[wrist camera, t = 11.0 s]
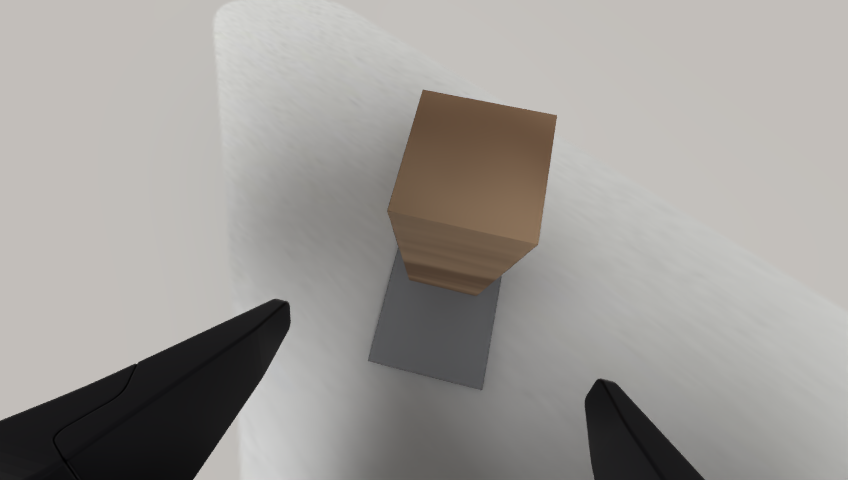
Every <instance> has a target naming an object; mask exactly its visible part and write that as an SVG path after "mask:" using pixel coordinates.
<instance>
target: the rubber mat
mask: <svg viewBox="0 0 848 480" xmlns="http://www.w3.org/2000/svg"><path fill="white" fill-rule="evenodd" d="M501 276H502V275H501ZM501 276H500V277H499V278H497V279H496V280H495V281H494V282H493V283H491V284H490V285H489V286H488V287H487V288H485V289H484V290H483V291H482V292H481V293H479V294H478V295H477V296H474V295H469V294H465V293H461V292H457V291H453V290H449V289H444V288H440V287H436V286H432V285H428V284H424V283H419V282H415V281H411V280H409V277H408V274H407V271H406V268H405V265H404V262H403V259H402V255H401V252H400V249H399V247H398V251H397V255H396V258H395V262H394V266H393V269H392V273H391V277H390V281H389V284H388V288H387V292H386V295H385V299H384V303H383V307H382V310H381V314H380V318H379V322H378V325H377V329H376V333H375V336H374V340H373V344H372V348H371V351H370V355H369V359H368V361H370V362H374V363H378V364H382V365H386V366H390V367H394V368H398V369H402V370H405V371H409V372H413V373H417V374H421V375H425V376H429V377H433V378H437V379H441V380H444V381H448V382H452V383H456V384H460V385H464V386H468V387H472V388H476V389H480V390H482V388H483V382H484V376H485V370H486V365H487V359H488V353H489V347H490V341H491V335H492V329H493V323H494V317H495V312H496V306H497V300H498V294H499V288H500V282H501Z"/></svg>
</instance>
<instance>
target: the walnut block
mask: <svg viewBox="0 0 848 480" xmlns="http://www.w3.org/2000/svg"><path fill="white" fill-rule="evenodd" d="M556 119H557V115H552V114H547V113H541V112H536V111H531V110H526V109H521V108H516V107H510V106H505V105H500V104H495V103H490V102H484V101H479V100H474V99H469V98H463V97H458V96H453V95H448V94H443V93H437V92H432V91H427V90H423V91H422V94H421V98H420V101H419V105H418V108H417V111H416V115H415V118H414V122H413V125H412V128H411V132H410V135H409V139H408V142H407V145H406V149H405V152H404V156H403V159H402V162H401V166H400V169H399V173H398V176H397V179H396V183H395V186H394V190H393V193H392V196H391V200H390V203H389V207H388V210H387V212H388V215H389V218H390V221H391V224H392V227H393V230H394V233H395V237H396V240H397V243H398V246H399V249H400V252H401V255H402V259H403V262H404V265H405V268H406V271H407V274H408V277H409V280H411V281H415V282H419V283H424V284H428V285H432V286H436V287H440V288H444V289H449V290H453V291H457V292H461V293H465V294H469V295H474V296H477V295H478V294H479V293H481V292H482V291H483V290H484V289H485V288H487V287H488V286H489V285H490V284H491V283H493V282H494V281H495V280H496V279H497V278H499V277H500V276H501V275H502V274H503V273H505V272H506V271H507V270H508V269H509V268H511V267H512V266H513V265H514V264H515V263H517V262H518V261H519V260H520V259H521V258H522V257H524V256H525V255H526V254H527V253H528V252H530V251H531V250H532V249H533V248H534V247H536V246H537V245H538V241H539V234H540V228H541V221H542V214H543V207H544V200H545V194H546V187H547V180H548V173H549V166H550V159H551V153H552V146H553V139H554V132H555V125H556Z"/></svg>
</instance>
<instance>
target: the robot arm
mask: <svg viewBox="0 0 848 480" xmlns="http://www.w3.org/2000/svg"><path fill="white" fill-rule="evenodd" d="M290 323H291V320H290V305H289V303H288V302H287V301H284V300H279V299H273V300H271V301H268V302H266V303H264V304H262V305H260V306H258V307H256V308H253V309H251V310H249V311H247V312H245V313H243V314H241V315H238V316H236V317H234V318H232V319H230V320H228V321H226V322H224V323H221V324H219V325H217V326H215V327H213V328H211V329H209V330H206V331H204V332H202V333H200V334H198V335H196V336H193V337H191V338H189V339H187V340H185V341H183V342H181V343H178V344H176V345H174V346H172V347H170V348H168V349H166V350H164V351H161V352H159V353H157V354H155V355H153V356H151V357H148V358H146V359H144V360H142V361H140V362H138V364H133V365H131V366H129V367H127V368H125V369H122V370H120V371H118V372H116V373H114V374H112V375H109V376H107V377H105V378H103V379H100V380H98V381H96V382H94V383H91V384H89V385H87V386H85V387H82V388H80V389H77V390H75V391H73V392H70V393H68V394H65V395H63V396H60V397H58V398H56V399H53V400H51V401H48V402H46V403H43V404H41V405H38V406H36V407H33V408H31V409H28V410H26V411H24V412H21V413H18V414H16V415H13V416H11V417H8V418H6V419H4V420H1V421H0V480H193V479H194V478H195V476H196V475H197V473H198V472H199V470H200V469H201V467H202V466H203V465H204V463H205V462H206V460H207V459H208V457H209V456H210V454H211V452H212V451H213V450H214V448H215V447H216V445H217V444H218V443H219V441H220V440H221V438H222V437H223V435H224V434H225V432H226V430H227V429H228V428H229V426H230V425H231V423H232V422H233V420H234V419H235V418H236V416H237V415H238V413H239V412H240V410H241V409H242V407H243V406H244V404H245V403H246V401H247V400H248V398H249V397H250V396H251V394H252V393H253V391H254V390H255V388H256V387H257V385H258V384H259V382H260V381H261V379H262V378H263V376H264V374H265V372H266V371H267V369H268V367H269V365H270V363H271V362H272V360H273V358H274V356H275V354H276V352H277V350H278V349H279V347H280V345H281V343H282V341H283V339H284V337H285V336H286V334H287V332H288V330H289V327H290ZM585 412H586V421H587V430H588V440H589V449H590V457H591V464H592V469H593V475H594V479H595V480H705V479H704V478H703V477H702V476H701V475H700V474H699V473H698V472H697V471H696V470H695V469H694V467H693V466H692V465H691V464H690V463H689V462H688V461H687V460H686V459H685V458H684V457H683V455H682V454H681V453H680V452H679V451H678V450H677V449H676V448H675V447H674V446H673V445H672V444H671V442H670V441H669V440H668V439H667V438H666V437H665V436H664V435H663V434H662V433H661V432H660V430H659V429H658V428H657V427H656V426H655V425H654V424H653V423H652V422H651V421H650V420H649V419H648V417H647V416H646V415H645V414H644V413H643V412H642V411H641V410H640V409H639V408H638V407H637V405H636V404H635V403H634V402H633V401H632V400H631V399H630V398H629V397H628V396H627V395H626V394H625V392H624V391H623V390H622V389H621V388H620V387H619V386H618V385H617V384H616V383H615V382H613V381H609V380H605V379H597V380H596V381H595V383H594V385H593V386H592V388H591V389H590V391H589V393H588V394H587V396H586V398H585Z"/></svg>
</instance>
